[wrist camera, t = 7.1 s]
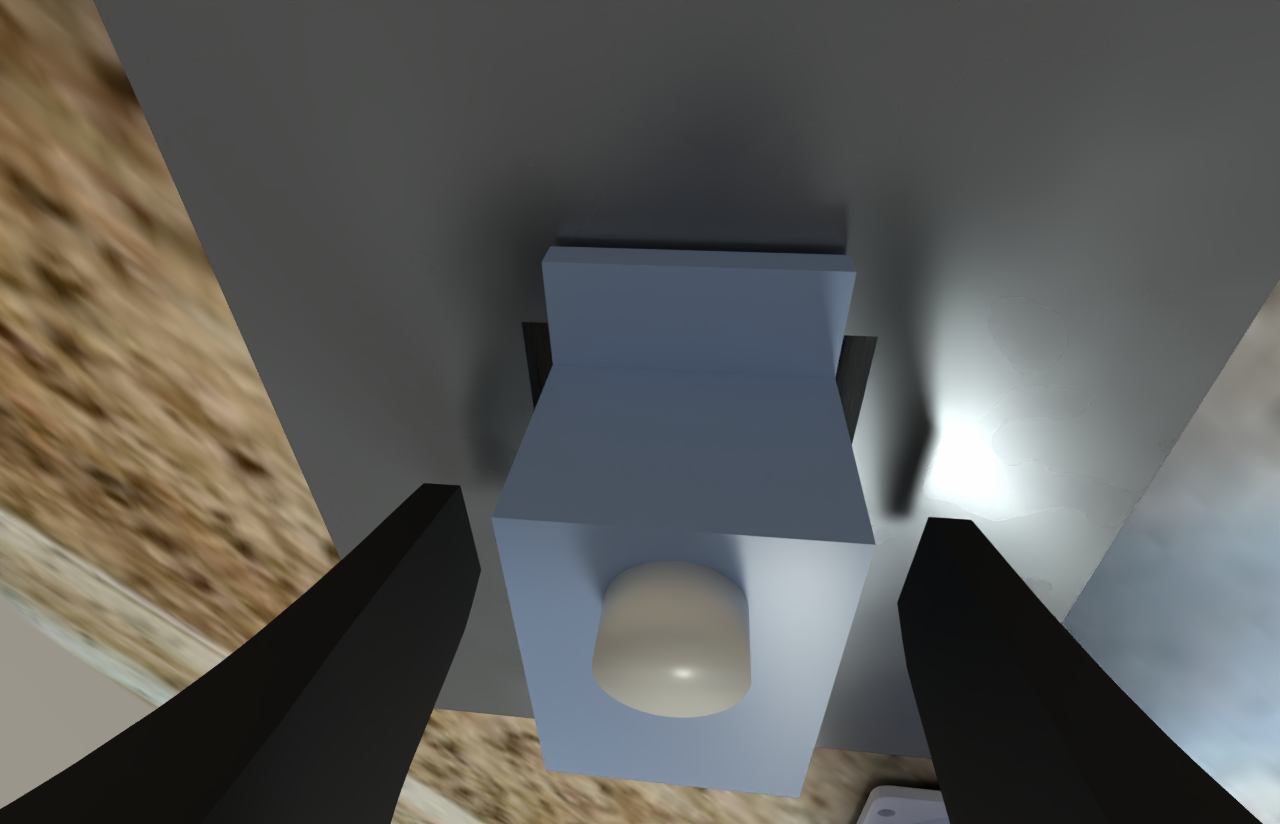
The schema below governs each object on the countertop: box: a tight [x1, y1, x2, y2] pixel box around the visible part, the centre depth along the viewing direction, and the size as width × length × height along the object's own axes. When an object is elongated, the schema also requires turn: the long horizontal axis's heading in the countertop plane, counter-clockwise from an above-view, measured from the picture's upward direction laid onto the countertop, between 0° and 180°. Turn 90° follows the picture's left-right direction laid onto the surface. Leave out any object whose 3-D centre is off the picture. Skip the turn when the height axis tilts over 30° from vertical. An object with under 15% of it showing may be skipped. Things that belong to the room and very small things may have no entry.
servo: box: [491, 246, 876, 798], centre depth 10 cm, size 9×4×6 cm, turn 1°
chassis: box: [94, 0, 1280, 759], centre depth 12 cm, size 16×14×2 cm
